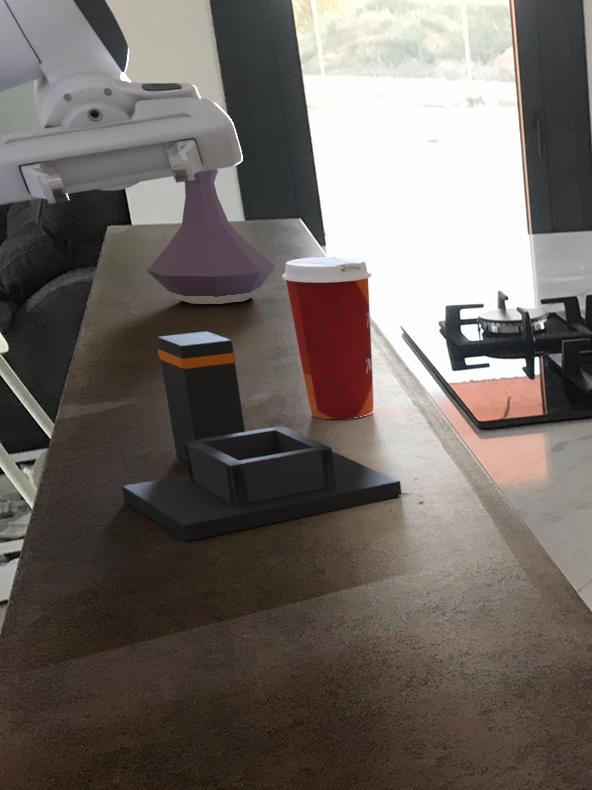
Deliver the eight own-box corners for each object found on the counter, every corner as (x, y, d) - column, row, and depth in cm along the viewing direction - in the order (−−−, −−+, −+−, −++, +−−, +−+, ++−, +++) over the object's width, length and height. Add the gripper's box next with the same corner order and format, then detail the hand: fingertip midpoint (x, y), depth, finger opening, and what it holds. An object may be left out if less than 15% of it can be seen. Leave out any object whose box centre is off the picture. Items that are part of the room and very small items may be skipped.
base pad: (186, 542, 87) (176, 482, 86) (124, 501, 95) (114, 446, 93) (402, 496, 98) (396, 442, 96) (329, 463, 105) (323, 413, 104)
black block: (199, 471, 103) (179, 346, 99) (175, 457, 106) (155, 336, 102) (250, 461, 105) (233, 340, 102) (225, 449, 109) (207, 331, 105)
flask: (284, 306, 176) (265, 152, 168) (152, 312, 169) (125, 152, 162) (274, 288, 189) (255, 145, 182) (151, 293, 183) (126, 145, 175)
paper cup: (402, 410, 122) (388, 260, 117) (338, 427, 116) (320, 269, 111) (345, 399, 126) (329, 253, 121) (280, 415, 120) (260, 261, 115)
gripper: (-49, 116, 105) (-43, 164, 96) (211, 79, 113) (241, 121, 104) (-19, 191, 109) (-10, 246, 100) (231, 151, 117) (261, 198, 108)
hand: (120, 182), depth 102 cm, fingers open, 8 cm apart
